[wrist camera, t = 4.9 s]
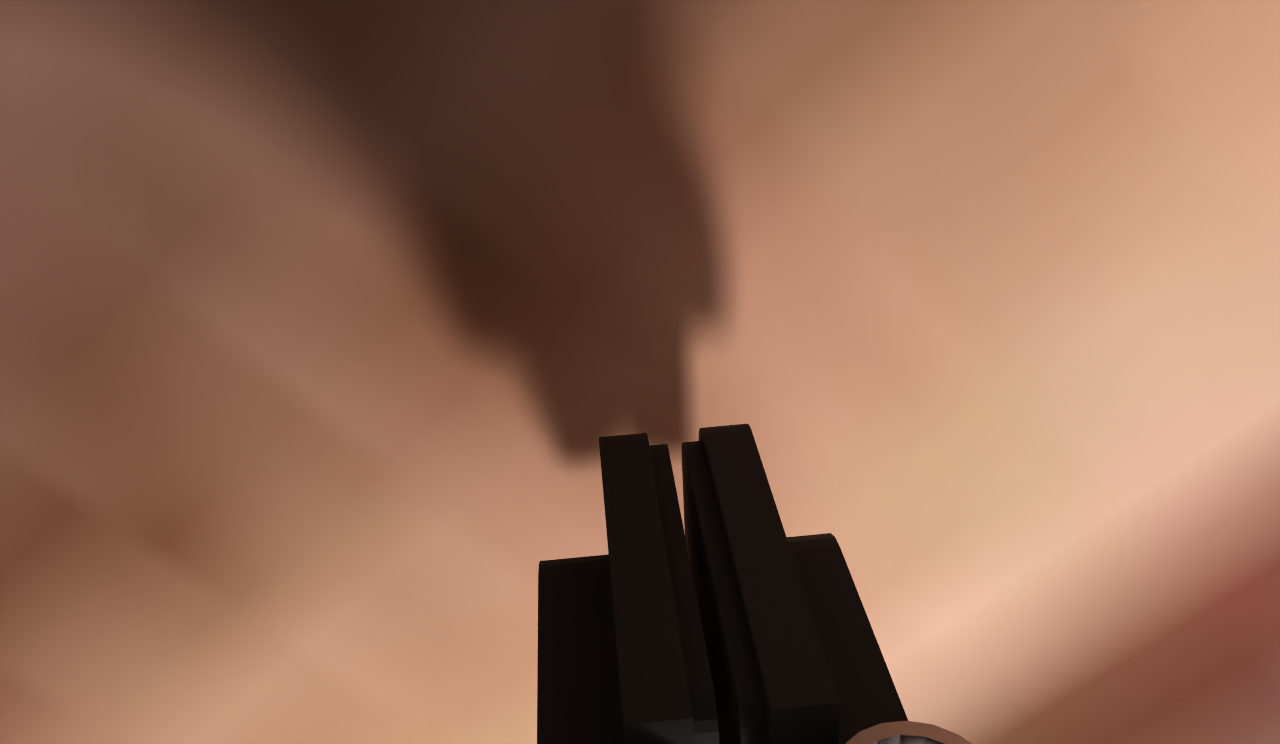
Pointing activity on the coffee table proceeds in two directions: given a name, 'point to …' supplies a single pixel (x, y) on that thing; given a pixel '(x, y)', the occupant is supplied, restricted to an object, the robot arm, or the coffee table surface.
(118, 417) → the coffee table surface
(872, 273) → the coffee table surface
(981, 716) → the coffee table surface
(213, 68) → the coffee table surface
